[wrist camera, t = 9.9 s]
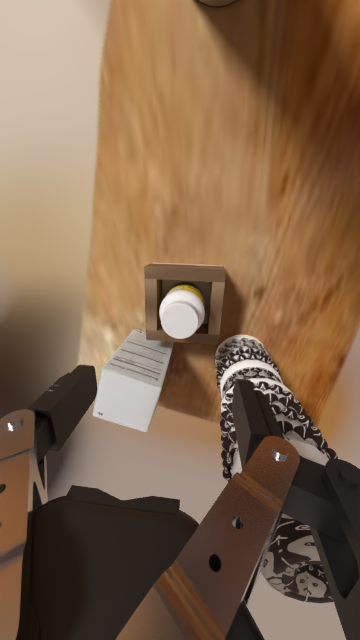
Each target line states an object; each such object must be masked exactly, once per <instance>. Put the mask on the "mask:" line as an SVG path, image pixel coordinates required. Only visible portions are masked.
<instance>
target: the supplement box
mask: <svg viewBox="0 0 360 640" xmlns="http://www.w3.org/2000/svg"><path fill="white" fill-rule="evenodd" d="M173 345H174V342H169V341H156V340H146V332H143V331H140V330H137V329H133V330H132V332H131V333H130V334H129V336H128V337H127V338H126V339H125V341H124V342H123V343H122V344H121V345H120V347H119V348H118V349H117V350H116V352H115V353H114V354H113V355H112V356H111V358H110V359H109V360H108V361H107V363H106V364H105V365H104V367H103V368H102V370H101V374H100V380H99V385H98V390H97V394H96V400H95V405H94V410H93V416H96V417H98V418H101V419H104V420H107V421H111V422H114V423H117V424H121V425H123V426H127V427H130V428H133V429H136V430H139V431H143V432H147V431H148V429H149V426H150V423H151V420H152V417H153V415H154V412H155V409H156V406H157V403H158V400H159V397H160V394H161V390H162V386H163V382H164V379H165V375H166V372H167V368H168V364H169V360H170V357H171V353H172V349H173Z"/></svg>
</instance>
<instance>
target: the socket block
mask: <svg viewBox="0 0 360 640" xmlns="http://www.w3.org/2000/svg"><path fill="white" fill-rule="evenodd" d="M144 267H145V311H146V340H156V341H169V342H183V343H197V344H210V345H218V344H219V335H220V325H221V316H222V306H223V297H224V287H225V278H226V269H225V268H224V267H223V266H219V265H196V264H173V263H152V264H149V265H147V266H144ZM182 282H189V283H193V284H195V285H196V286H198V287H199V288H200V290H201V291H202V293H203V296H204V304H205V316H204V320H203V323H202V324H201V326H200V327H199V328H198V329H197V330H196V331H195V332H194V334H192V335H191V336H190V337H188V338H184V339H177V338H173V337H171V336H169V335H168V334H167V333H166V332H165V331H164V329H163V327H162V325H161V320H160V316H159V310H160V305H161V303H162V301H163V299H164V298H165V297H166V295H167V294H168V292H169V291H170V290H171V289H172V288H173V287H174V286H175V285H177V284H179V283H182Z"/></svg>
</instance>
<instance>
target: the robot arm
mask: <svg viewBox="0 0 360 640" xmlns="http://www.w3.org/2000/svg"><path fill="white" fill-rule="evenodd" d="M199 1H200V2H202V3H205V4H207V5H210V6H222V5H227V4H230V3H232V2H234V1H236V0H199ZM96 394H97V382H96V374H95V368H94V366H89V365H78V366H77V367H76V368H75V369H74V370H73V371H72V372H71V373H67V374H66V375H64V376H62V377H61V378H59V379H58V380H57V381H56V382H55V383H54V384H53V386H51V387H50V388H49V389H48V390H47V391H45V392H44V393H43V394H42V395H41V396H40V397H39V398H38V399H37V400H36V401H35V402H34V403H33V404H32V405H31V406H30V407H29V408H28V409H26V410H19V411H15V412H12V413H10V414H8V415H6V416H5V417H3V418H2V419H1V420H0V640H264V638H263V636H262V634H261V632H260V630H259V629H258V627H257V625H256V623H255V621H254V619H253V617H252V616H251V614H250V612H249V610H248V608H247V604H248V602H249V599H250V597H251V594H252V592H253V589H254V587H255V584H256V582H257V579H258V576H259V573H260V571H261V568H262V565H263V563H264V560H265V557H266V555H267V552H268V550H269V547H270V545H271V542H272V540H273V537H274V535H275V532H276V530H277V527H278V525H279V522H280V519H281V517H282V514H285V515H287V516H289V517H291V518H293V519H295V520H297V521H300V522H302V523H304V524H306V525H308V526H309V527H310V530H311V533H312V536H313V539H314V542H315V545H316V548H317V551H318V554H319V558H320V561H321V564H322V567H323V570H324V573H325V576H326V579H327V582H328V585H329V588H330V591H331V594H332V597H333V600H334V603H335V606H336V609H337V612H338V615H339V619H340V622H341V625H342V628H343V631H344V634H345V637H346V639H347V640H360V469H358V468H357V467H356V466H354V465H352V464H351V463H348V462H346V461H343V460H340V459H331V460H329V461H327V463H326V465H325V466H324V465H322V464H319V463H316V462H314V461H311V460H309V459H306V458H304V457H302V456H300V455H299V453H298V451H297V450H296V448H295V447H294V446H293V445H292V444H291V443H289V442H288V441H287V440H285V438H284V436H283V434H282V431H281V429H280V427H279V424H278V422H277V419H276V417H275V415H274V414H273V410H272V407H271V405H270V403H269V400H268V398H267V397H266V396H265V395H264V394H263V393H262V392H261V390H254V388H253V386H252V383H251V380H245V379H236V380H235V385H234V392H233V399H232V415H233V421H234V427H235V432H236V438H237V444H238V450H239V455H240V461H241V467H242V472H241V473H240V474H239V473H238V472H237V473H235V474H234V475H233V477H232V478H231V479H230V481H229V482H228V484H227V485H226V487H225V488H224V490H223V491H222V493H221V494H220V496H219V497H218V498H217V500H216V501H215V503H214V505H213V506H212V507H211V509H210V510H209V512H208V513H207V515H206V516H205V518H204V519H203V521H202V522H201V523H200V525H199V524H198V523H197V522H196V521H195V520H194V519H193V518H192V517H191V516H189V515H187V514H186V513H185V512H183V511H181V510H179V506H180V500H178V499H170V498H163V497H156V496H150V497H143V498H137V499H131V500H119V499H117V498H115V497H113V496H111V495H109V494H107V493H105V492H103V491H101V490H99V489H96V488H88V487H81V486H74V485H72V486H71V488H70V490H69V492H68V494H67V496H62V497H59V498H56V499H53V500H51V501H48V500H47V475H46V457H45V455H46V453H47V452H48V451H49V450H54V451H60V449H61V447H62V446H63V445H64V443H65V442H66V440H67V439H68V437H69V436H70V434H71V433H72V431H73V430H74V429H75V427H76V426H77V424H78V423H79V421H80V420H81V418H82V417H83V415H84V414H85V413H86V411H87V410H88V408H89V406H90V405H91V404H92V402H93V401H94V399H95V397H96Z"/></svg>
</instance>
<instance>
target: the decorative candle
mask: <svg viewBox="0 0 360 640" xmlns="http://www.w3.org/2000/svg"><path fill="white" fill-rule="evenodd" d="M215 367H216V370H215V371H216V373H218V375H217V377H216V378H217V380H218V382H217V386H218V387H219V388H220V394H221V397H222V399H223V400H222V402H221V416H220V417H221V419H222V420H221V422H220V426H221V431H222V433H223V434H222V436H221V440H222V442H223V443H222V449H223V451H222V453H221V456H222V459H223V467H224V470H223V477H224V479H226V480H227V481H228V482H229V481H230V479H231V478H232V477H233V475H234V474H235V473H237V472H238V473H239V474H240V473H241V472H242V467H241V461H240V455H239V450H238V444H237V438H236V432H235V427H234V421H233V415H232V399H233V392H234V385H235V380H236V379H245V380H251V383H252V386H253V388H254V390H261V392H262V393H263V394H264V395H265V396H266V397H267V398H268V400H269V403H270V405H271V407H272V410H273V414H274V415H275V417H276V419H277V422H278V424H279V427H280V429H281V431H282V434H283V436H284V438H285V440H287V441H288V442H289V443H291V444H292V445H293V446H294V447H295V448H296V450H297V451H298V453H299V455H300V456H302V457H304V458H306V459H309V460H311V461H314V462H316V463H319V464H322V465H324V466H325V465H326V463H327V461H329V460H331V459H338V457H337V454H336V453H335V451H334V450H332V449H330V448H327V447H328V445H327V442H326V441H325V439H323V438H322V437H321V432H320V430H319V429H318V428H317V427H314V426H313V420H312V419H311V418H310V417H309V416H307V415H305V414H306V413H305V410H304V408H303V407H302V405H301V403H300V402H299V401H298V400H295V397H294V395H293V393H292V392H291V391H290V390H289V389H288V388H287V387H286V386H284V385H283V383H282V380H281V377H280V376H279V374H280V371H279V369H278V368H276V365H275V363H274V362H272V357H271V356H270V355H269V353H268V351H267V350H266V349H265V347H264V345H263V344H262V343H261V342H260V341H259V340H258V339H257V338H255V337H252V336H249V335H234V336H232V337H229V338H227V339H225V340H224V341H223V342H222V343H221V344H220V345H219V346H218V348H217V350H216V353H215ZM228 438H229V439H228ZM228 453H229V457H228ZM324 453H326V454H327V456H328V458H329V460H328V458H327V456H325V455H324ZM230 470H232V474H231V472H230ZM260 572H261V573H262V575H263V576H264V577H265V579H266V581H267V582H268V584H269V585H270V586H271V587H273V588H274V589H275V590H277V591H279V592H280V593H282V594H283V595H285V596H288V597H291V598H294V599H297V600H300V601H305V602H314V603H327V602H334V600H333V597H332V594H331V591H330V588H329V585H328V582H327V579H326V576H325V573H324V570H323V567H322V564H321V561H320V558H319V554H318V551H317V548H316V545H315V542H314V539H313V536H312V533H311V530H310V527H309V526H308V525H306V524H304V523H302V522H300V521H297V520H295V519H293V518H291V517H289V516H287V515H285V514H282V517H281V519H280V522H279V525H278V527H277V530H276V532H275V535H274V537H273V540H272V542H271V545H270V547H269V550H268V552H267V555H266V557H265V560H264V563H263V565H262V568H261V571H260Z"/></svg>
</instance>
